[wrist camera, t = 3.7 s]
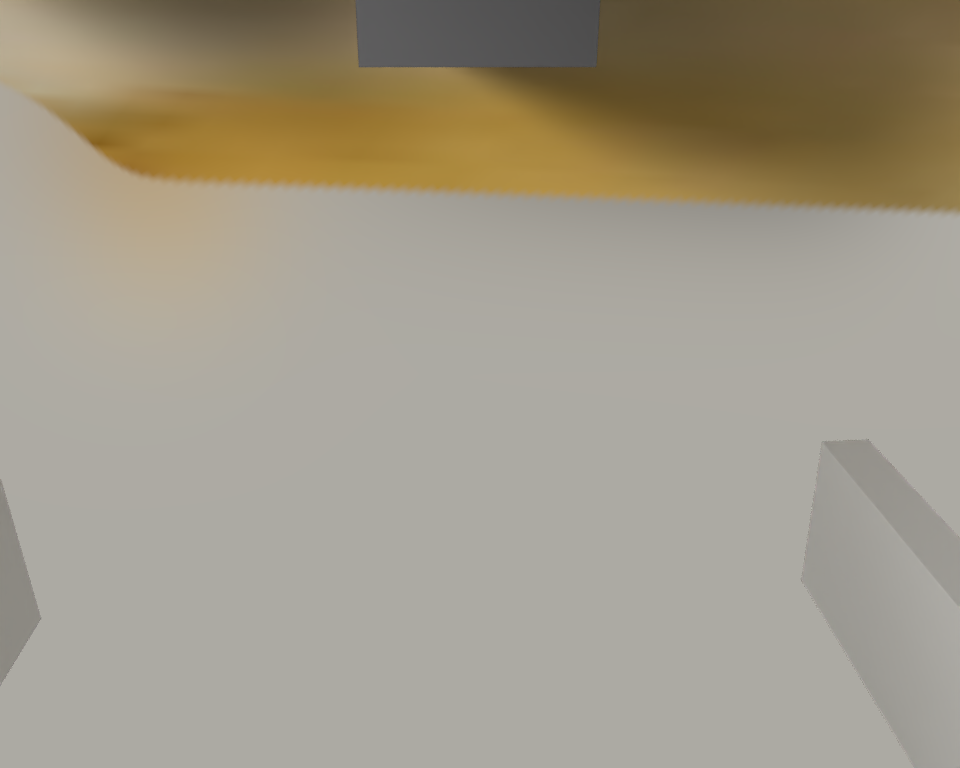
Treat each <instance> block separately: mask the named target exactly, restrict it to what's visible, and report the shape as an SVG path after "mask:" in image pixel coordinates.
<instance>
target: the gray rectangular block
mask: <svg viewBox="0 0 960 768" xmlns="http://www.w3.org/2000/svg"><path fill="white" fill-rule="evenodd" d="M599 13H600V0H356V18H357V38H358V59H359V67H596V65H597V47H598V30H599Z"/></svg>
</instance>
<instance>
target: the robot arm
mask: <svg viewBox="0 0 960 768" xmlns="http://www.w3.org/2000/svg"><path fill="white" fill-rule="evenodd" d="M801 581H802V583H803V584H804V586H805V588H806V589H807V591H808V593H809V594H810V596H811V597H812V599H813V601H814V603H815V604H816V606H817V608H818V609H819V611H820V613H821V614H822V616H823V618H824V619H825V621H826V623H827V624H828V626H829V628H830V629H831V631H832V633H833V634H834V636H835V637H836V639H837V641H838V642H839V644H840V646H841V647H842V649H843V651H844V652H845V654H846V656H847V657H848V659H849V661H850V662H851V664H852V666H853V667H854V669H855V671H856V672H857V674H858V675H859V677H860V679H861V681H862V682H863V684H864V685H865V687H866V689H867V691H868V692H869V694H870V696H871V697H872V699H873V700H874V702H875V704H876V705H877V707H878V709H879V711H880V712H881V714H882V715H883V717H884V719H885V720H886V722H887V724H888V725H889V727H890V729H891V730H892V732H893V734H894V735H895V737H896V739H897V740H898V742H899V744H900V745H901V747H902V749H903V750H904V752H905V754H906V755H907V757H908V759H909V760H910V762H911V764H912V765H913V767H914V768H960V537H959V536H958V535H957V534H956V533H955V532H954V531H953V530H952V529H951V528H950V527H949V526H948V525H947V523H946V522H945V521H944V520H943V519H942V518H941V517H940V516H939V515H938V514H937V513H936V512H935V511H934V509H932V507H931V506H930V505H929V504H928V503H927V502H926V501H925V500H924V499H923V498H922V496H921V495H920V494H919V493H918V492H917V491H916V490H915V489H914V488H913V487H912V486H911V485H910V484H909V483H908V482H907V480H906V479H905V478H904V477H903V476H902V475H901V474H900V473H899V472H898V471H897V470H896V469H895V467H894V466H893V465H892V464H891V463H890V462H889V461H888V460H887V459H886V458H885V457H884V456H883V455H882V453H881V452H879V450H878V449H877V448H876V447H875V446H874V445H873V444H872V443H871V442H870V441H869V440H845V441H823V442H822V444H821V451H820V458H819V464H818V471H817V478H816V484H815V491H814V498H813V504H812V511H811V518H810V524H809V531H808V538H807V545H806V551H805V558H804V565H803V572H802V578H801ZM40 620H41V617H40V613H39V609H38V606H37V603H36V599H35V595H34V592H33V589H32V585H31V582H30V578H29V575H28V571H27V568H26V565H25V561H24V557H23V554H22V550H21V547H20V543H19V540H18V536H17V533H16V530H15V526H14V523H13V519H12V516H11V512H10V509H9V505H8V502H7V498H6V495H5V491H4V488H3V484H2V481H1V479H0V685H1V684H2V682H3V680H4V679H5V677H6V675H7V673H8V672H9V670H10V669H11V667H12V666H13V664H14V662H15V661H16V659H17V657H18V656H19V654H20V652H21V651H22V649H23V647H24V646H25V644H26V643H27V641H28V639H29V638H30V636H31V634H32V633H33V631H34V629H35V628H36V626H37V625H38V623H39V621H40Z"/></svg>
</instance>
